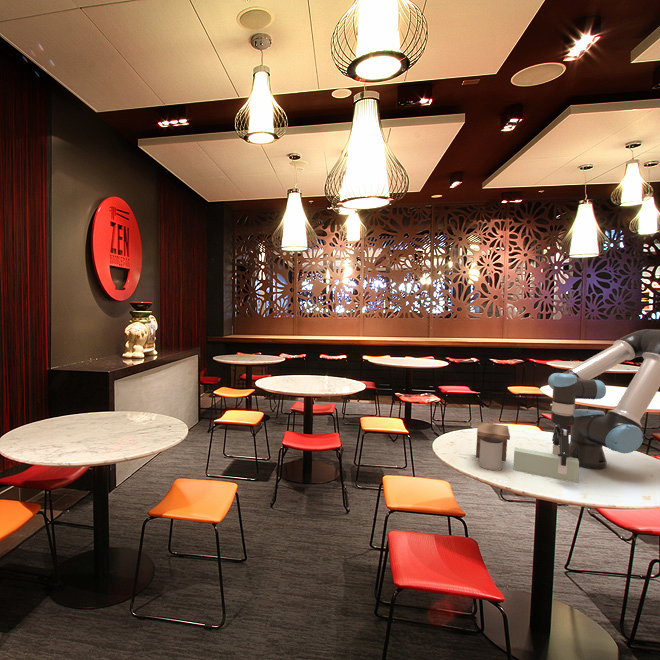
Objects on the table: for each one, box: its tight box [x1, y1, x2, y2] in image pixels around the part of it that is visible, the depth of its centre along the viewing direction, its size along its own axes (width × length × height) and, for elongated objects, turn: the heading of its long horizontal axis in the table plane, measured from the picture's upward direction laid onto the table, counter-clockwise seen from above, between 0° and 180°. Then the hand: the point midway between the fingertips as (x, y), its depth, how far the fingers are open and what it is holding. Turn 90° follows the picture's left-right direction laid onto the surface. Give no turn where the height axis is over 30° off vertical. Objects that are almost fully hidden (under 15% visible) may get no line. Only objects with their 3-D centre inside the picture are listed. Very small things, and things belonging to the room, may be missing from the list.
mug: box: [478, 437, 503, 471], centre depth 158 cm, size 12×8×11 cm
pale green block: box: [512, 447, 580, 484], centre depth 151 cm, size 22×5×8 cm, turn 61°
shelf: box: [475, 421, 511, 463], centre depth 159 cm, size 12×16×15 cm
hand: (558, 467), depth 149 cm, fingers open, 13 cm apart
